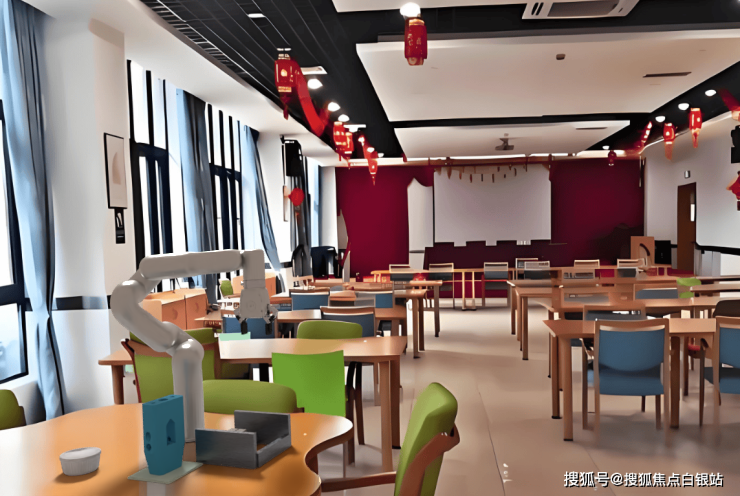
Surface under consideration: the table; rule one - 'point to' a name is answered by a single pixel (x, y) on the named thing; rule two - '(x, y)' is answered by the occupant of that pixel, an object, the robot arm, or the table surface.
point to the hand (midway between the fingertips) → (256, 334)
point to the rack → (245, 440)
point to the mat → (168, 477)
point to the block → (163, 433)
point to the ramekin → (80, 460)
